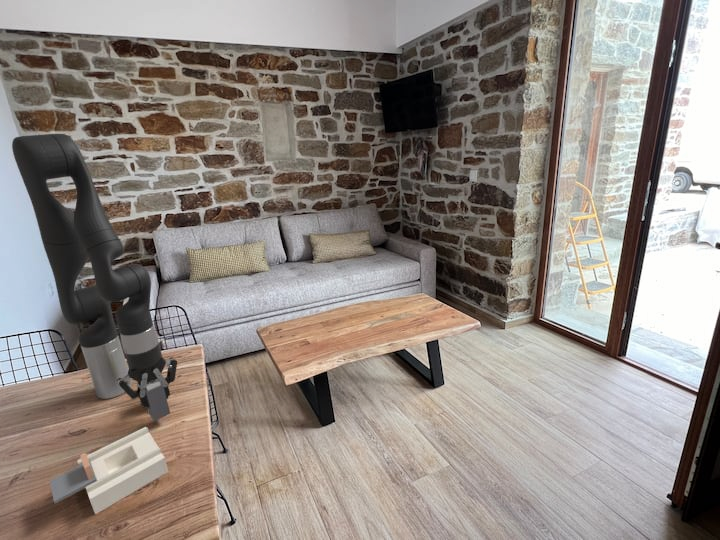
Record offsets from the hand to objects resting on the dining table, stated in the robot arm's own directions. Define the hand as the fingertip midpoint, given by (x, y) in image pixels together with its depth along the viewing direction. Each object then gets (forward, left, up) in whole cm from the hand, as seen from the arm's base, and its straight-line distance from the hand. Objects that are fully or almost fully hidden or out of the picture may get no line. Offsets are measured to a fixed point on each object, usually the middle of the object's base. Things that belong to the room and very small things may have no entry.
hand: (156, 401), depth 97 cm
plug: (0, 0, -4) cm, 4 cm away
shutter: (+11, -20, -2) cm, 23 cm away
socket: (+11, -11, -6) cm, 17 cm away
